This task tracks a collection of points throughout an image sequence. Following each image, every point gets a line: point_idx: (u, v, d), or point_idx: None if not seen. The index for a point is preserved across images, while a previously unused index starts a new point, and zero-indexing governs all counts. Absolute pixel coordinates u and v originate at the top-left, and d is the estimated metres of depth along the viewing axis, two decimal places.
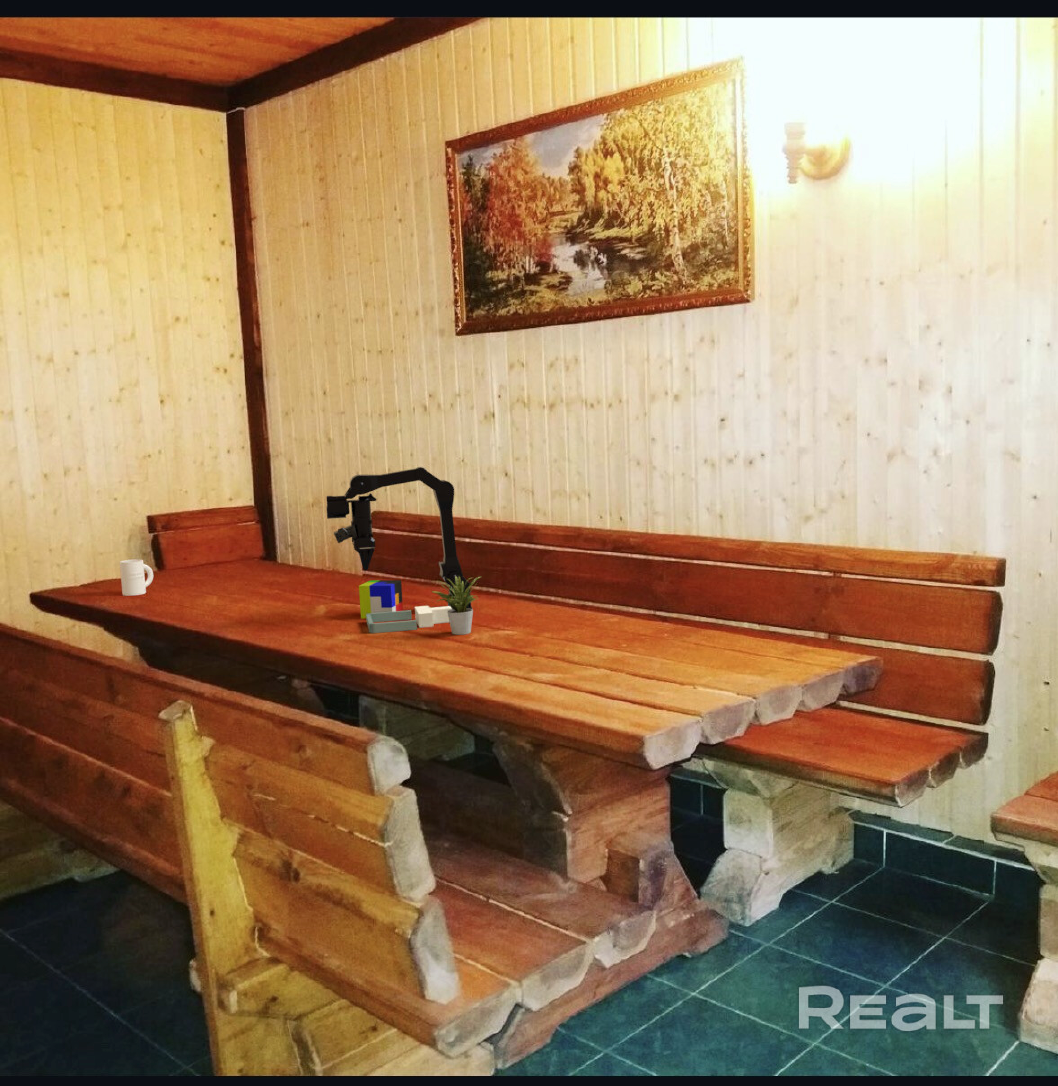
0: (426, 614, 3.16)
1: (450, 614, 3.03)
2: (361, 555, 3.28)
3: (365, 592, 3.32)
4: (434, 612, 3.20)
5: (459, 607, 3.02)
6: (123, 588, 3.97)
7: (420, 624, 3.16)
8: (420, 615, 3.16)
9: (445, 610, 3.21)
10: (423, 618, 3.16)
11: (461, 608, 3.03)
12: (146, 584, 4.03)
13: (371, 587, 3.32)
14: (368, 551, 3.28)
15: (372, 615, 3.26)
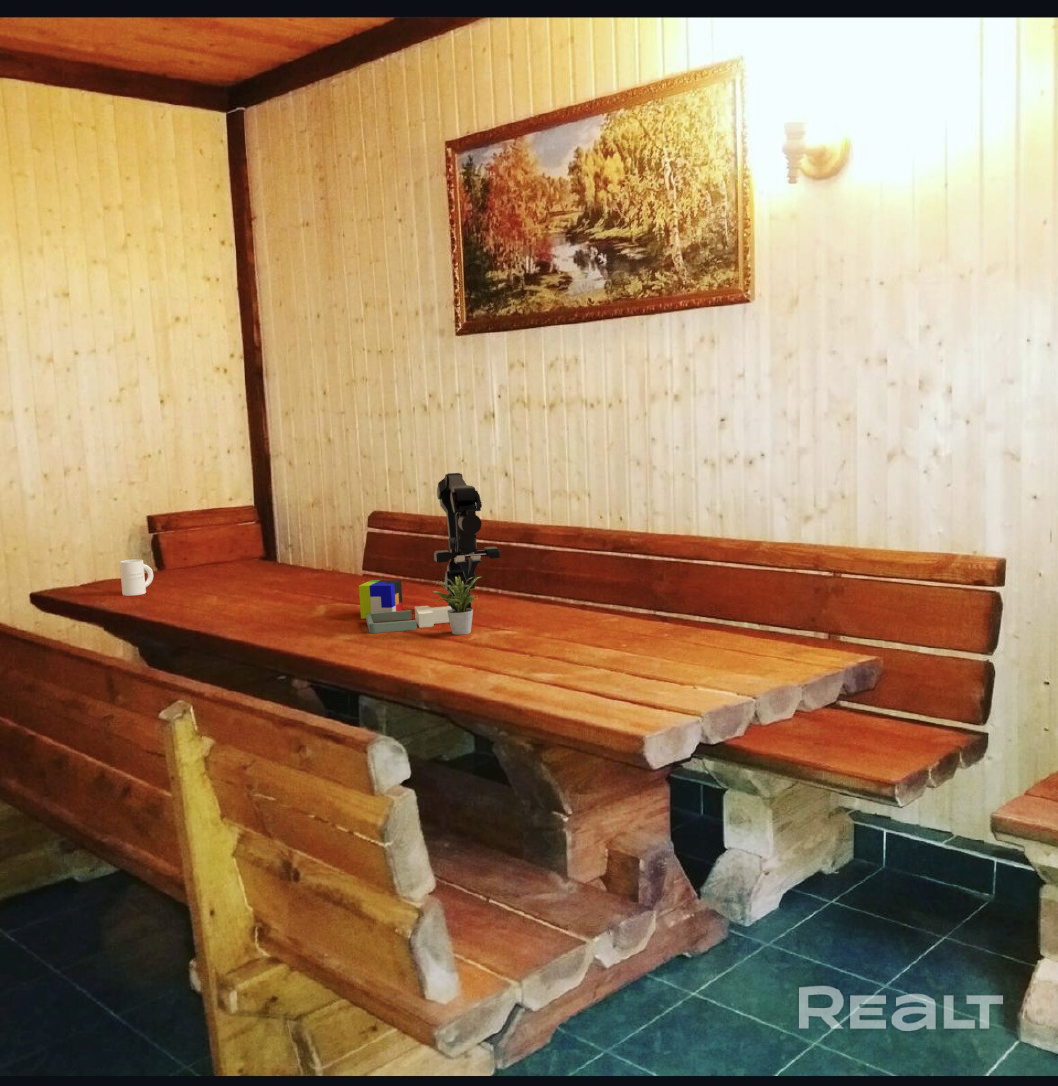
0: (426, 614, 3.16)
1: (450, 614, 3.03)
2: (461, 567, 3.23)
3: (365, 592, 3.32)
4: (434, 612, 3.20)
5: (459, 607, 3.02)
6: (123, 588, 3.97)
7: (420, 624, 3.16)
8: (420, 615, 3.16)
9: (445, 610, 3.21)
10: (423, 618, 3.16)
11: (461, 608, 3.03)
12: (146, 584, 4.03)
13: (371, 587, 3.32)
14: None
15: (372, 615, 3.26)
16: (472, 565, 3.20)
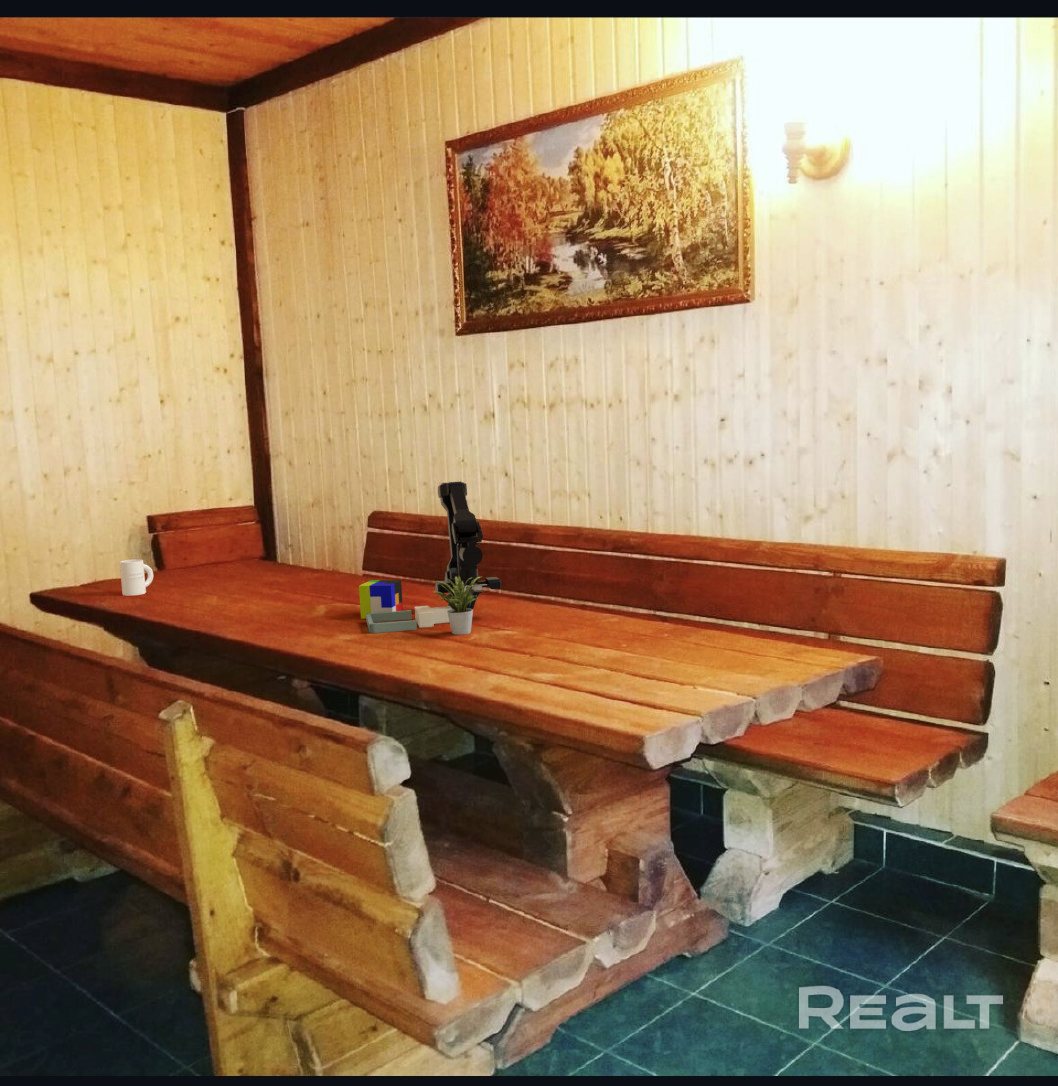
0: (426, 614, 3.16)
1: (450, 614, 3.03)
2: None
3: (365, 592, 3.32)
4: (434, 612, 3.20)
5: (459, 607, 3.02)
6: (123, 588, 3.97)
7: (420, 624, 3.16)
8: (420, 615, 3.16)
9: (445, 610, 3.21)
10: (423, 618, 3.16)
11: (461, 608, 3.03)
12: (146, 584, 4.03)
13: (371, 587, 3.32)
14: None
15: (372, 615, 3.26)
16: (474, 595, 3.21)
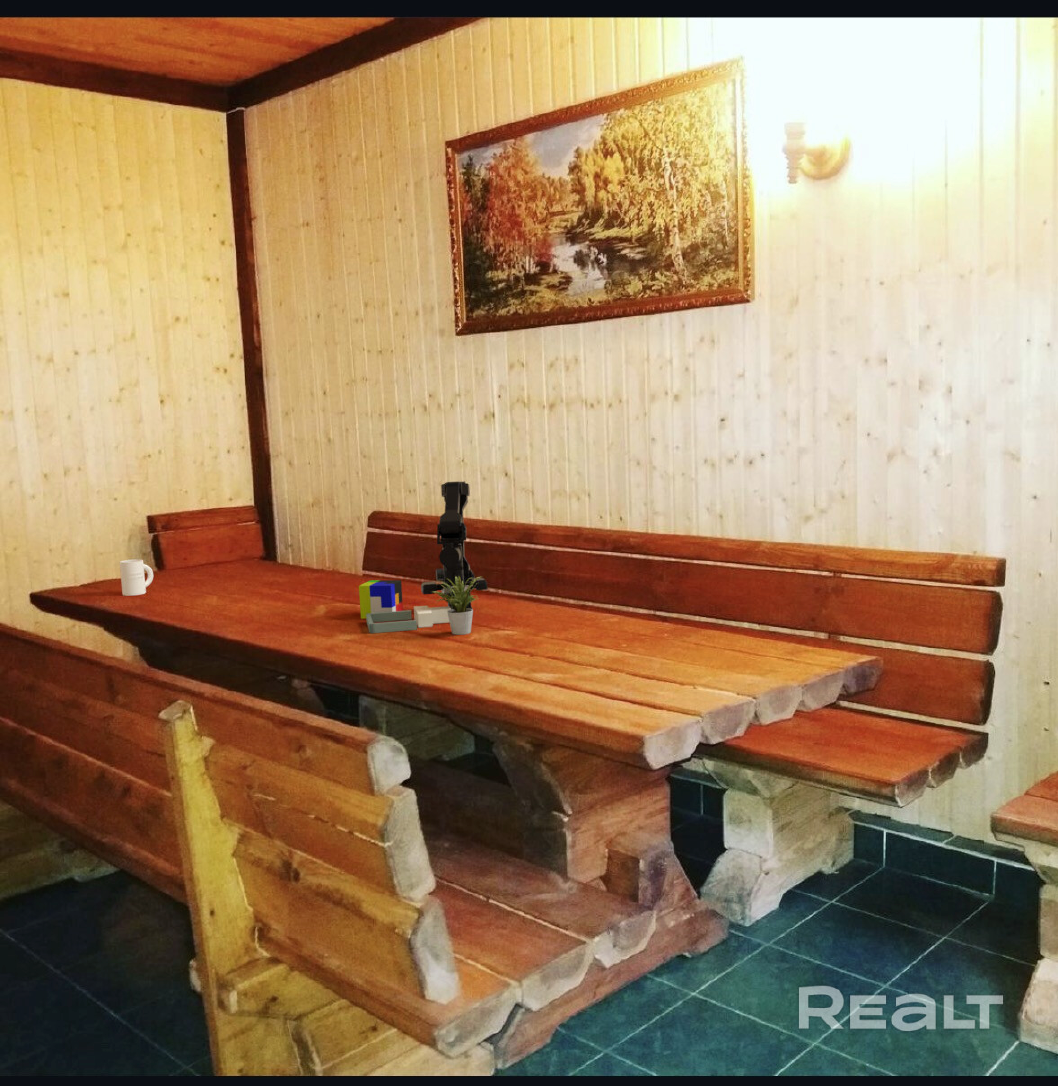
0: (425, 614, 3.16)
1: (450, 614, 3.03)
2: None
3: (365, 592, 3.32)
4: (433, 612, 3.20)
5: (459, 607, 3.02)
6: (123, 588, 3.97)
7: (419, 624, 3.16)
8: (419, 615, 3.15)
9: (444, 610, 3.21)
10: (422, 618, 3.16)
11: (461, 608, 3.03)
12: (146, 584, 4.03)
13: (371, 587, 3.32)
14: None
15: (372, 615, 3.26)
16: None
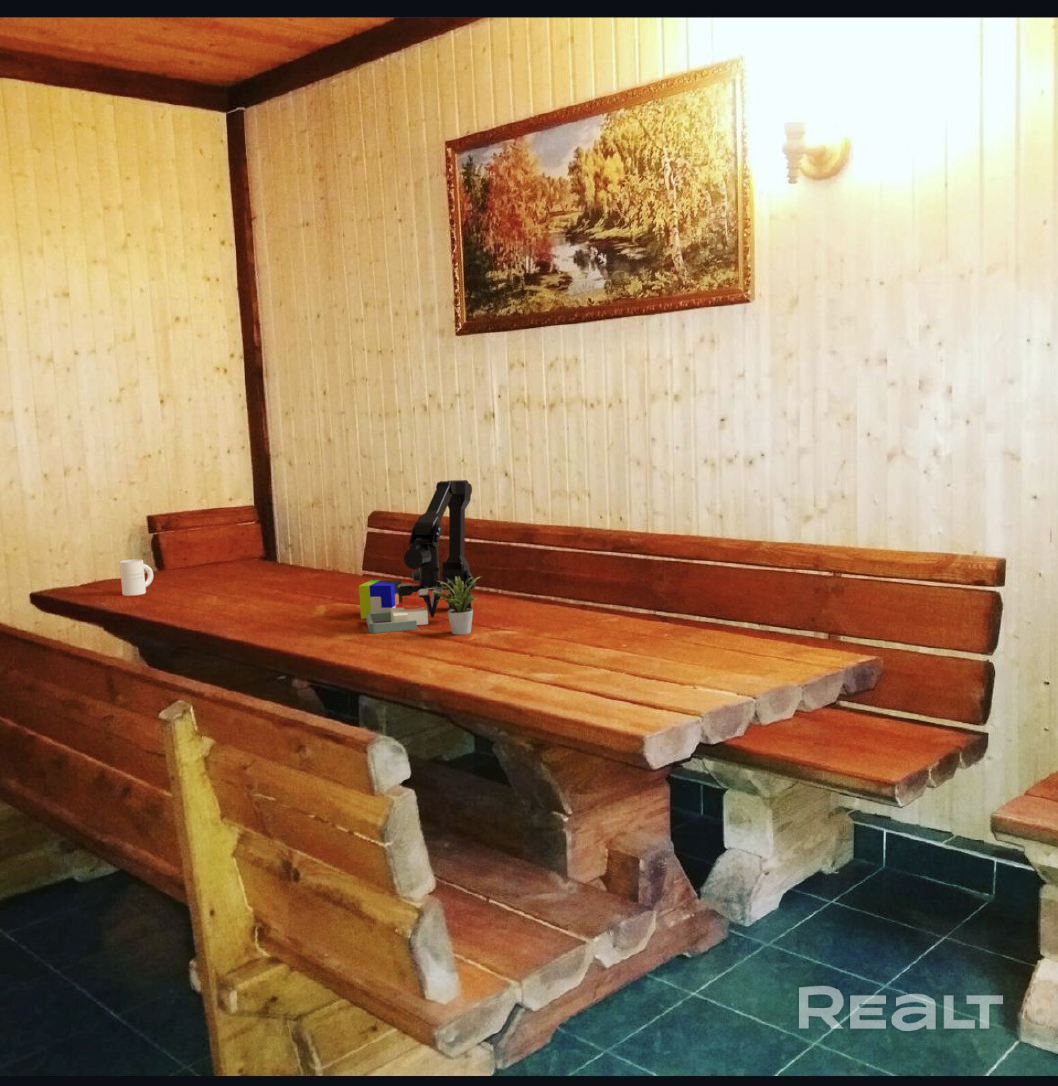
0: (401, 616, 3.14)
1: (450, 614, 3.03)
2: (425, 600, 3.22)
3: (365, 592, 3.32)
4: (409, 614, 3.19)
5: (459, 607, 3.02)
6: (123, 588, 3.97)
7: None
8: (395, 617, 3.14)
9: (421, 612, 3.19)
10: (398, 620, 3.14)
11: (461, 608, 3.03)
12: (146, 584, 4.03)
13: (371, 587, 3.32)
14: None
15: (372, 615, 3.26)
16: (435, 598, 3.19)
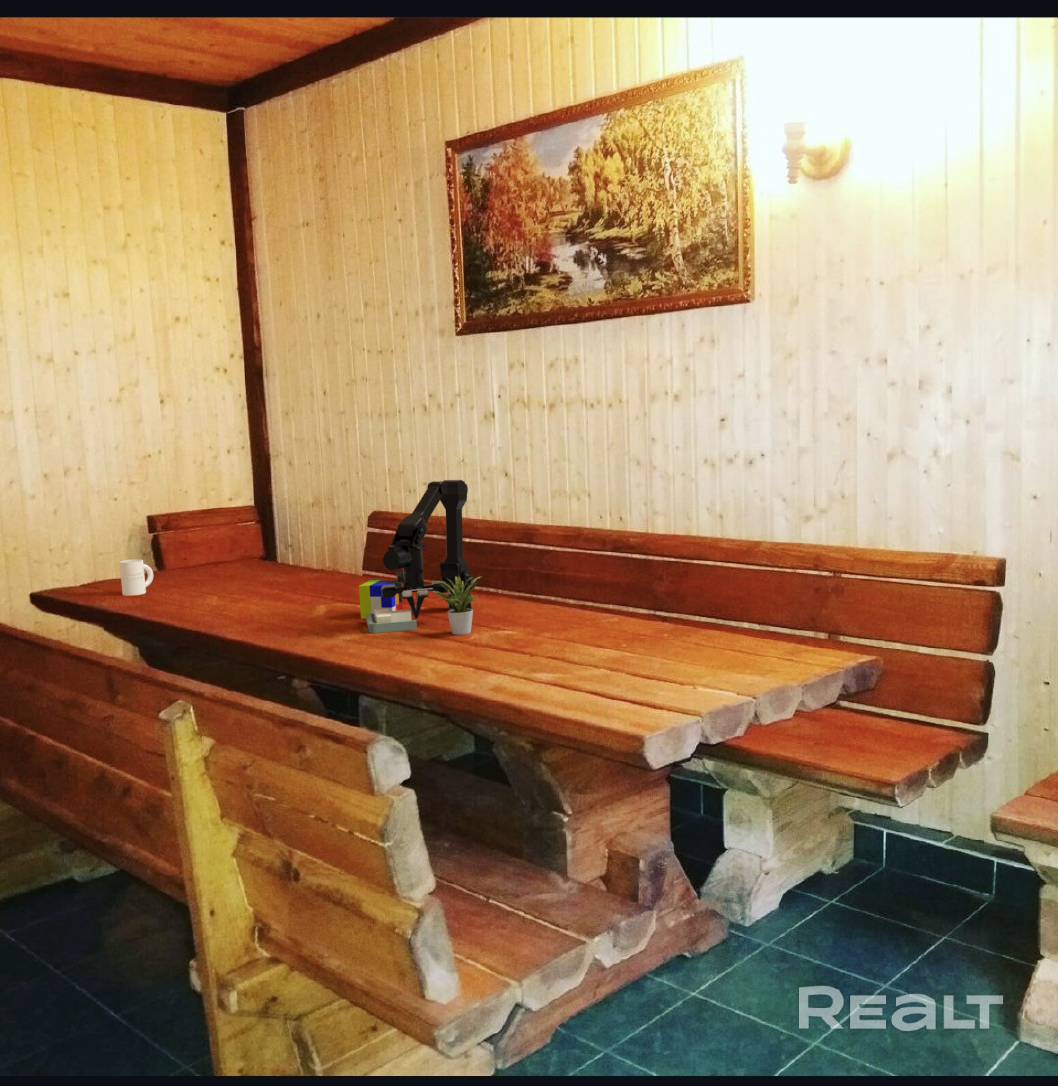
0: (385, 617, 3.14)
1: (450, 614, 3.03)
2: None
3: (365, 592, 3.32)
4: (393, 615, 3.18)
5: (459, 607, 3.02)
6: (123, 588, 3.97)
7: None
8: (378, 618, 3.13)
9: (404, 613, 3.19)
10: (381, 621, 3.14)
11: (461, 608, 3.03)
12: (146, 584, 4.03)
13: (371, 587, 3.32)
14: None
15: (372, 615, 3.26)
16: (419, 599, 3.18)
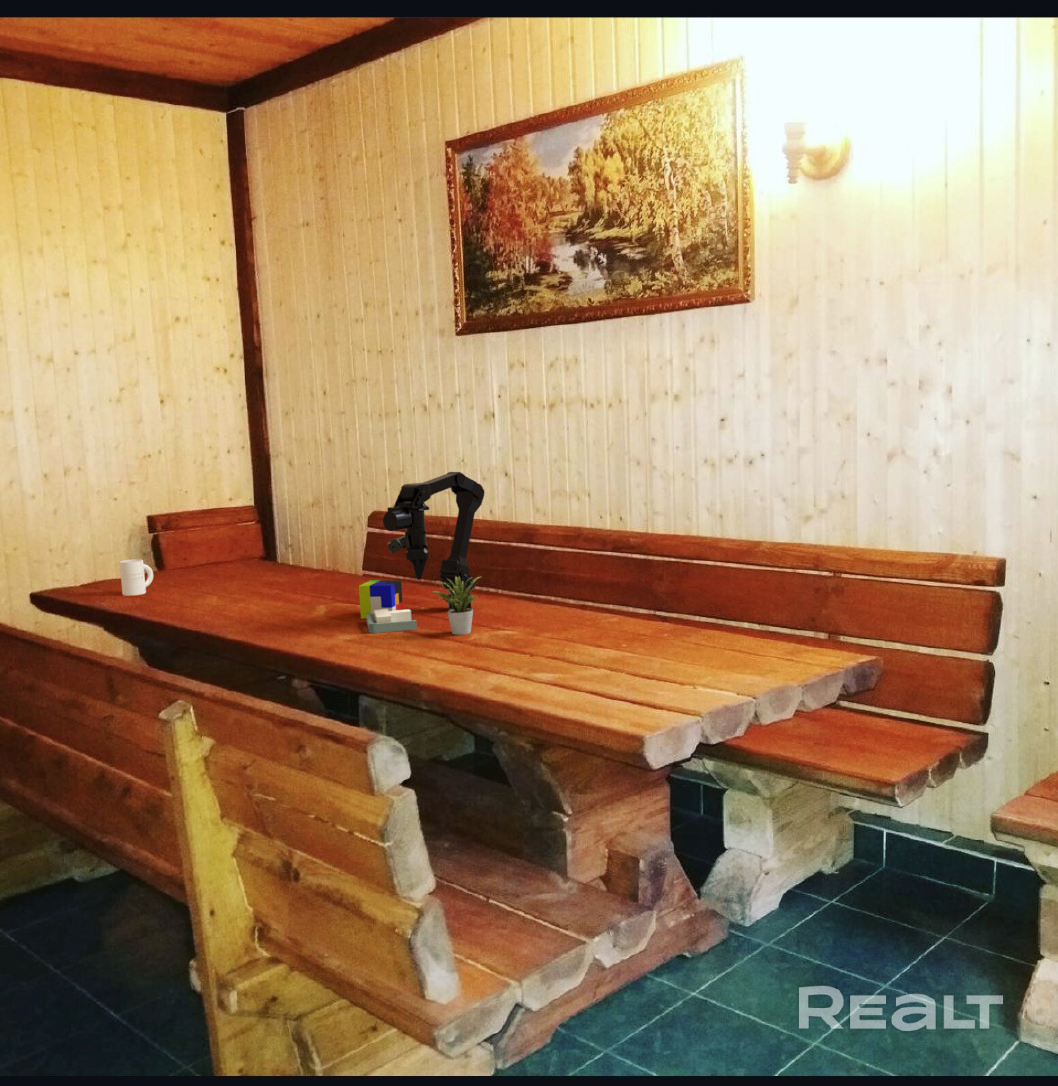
0: (384, 617, 3.14)
1: (450, 614, 3.03)
2: (414, 564, 3.24)
3: (365, 592, 3.32)
4: (393, 615, 3.18)
5: (459, 607, 3.02)
6: (123, 588, 3.97)
7: None
8: (378, 618, 3.13)
9: (404, 613, 3.19)
10: (381, 621, 3.14)
11: (461, 608, 3.03)
12: (146, 584, 4.03)
13: (371, 587, 3.32)
14: (421, 560, 3.25)
15: (372, 615, 3.26)
16: None
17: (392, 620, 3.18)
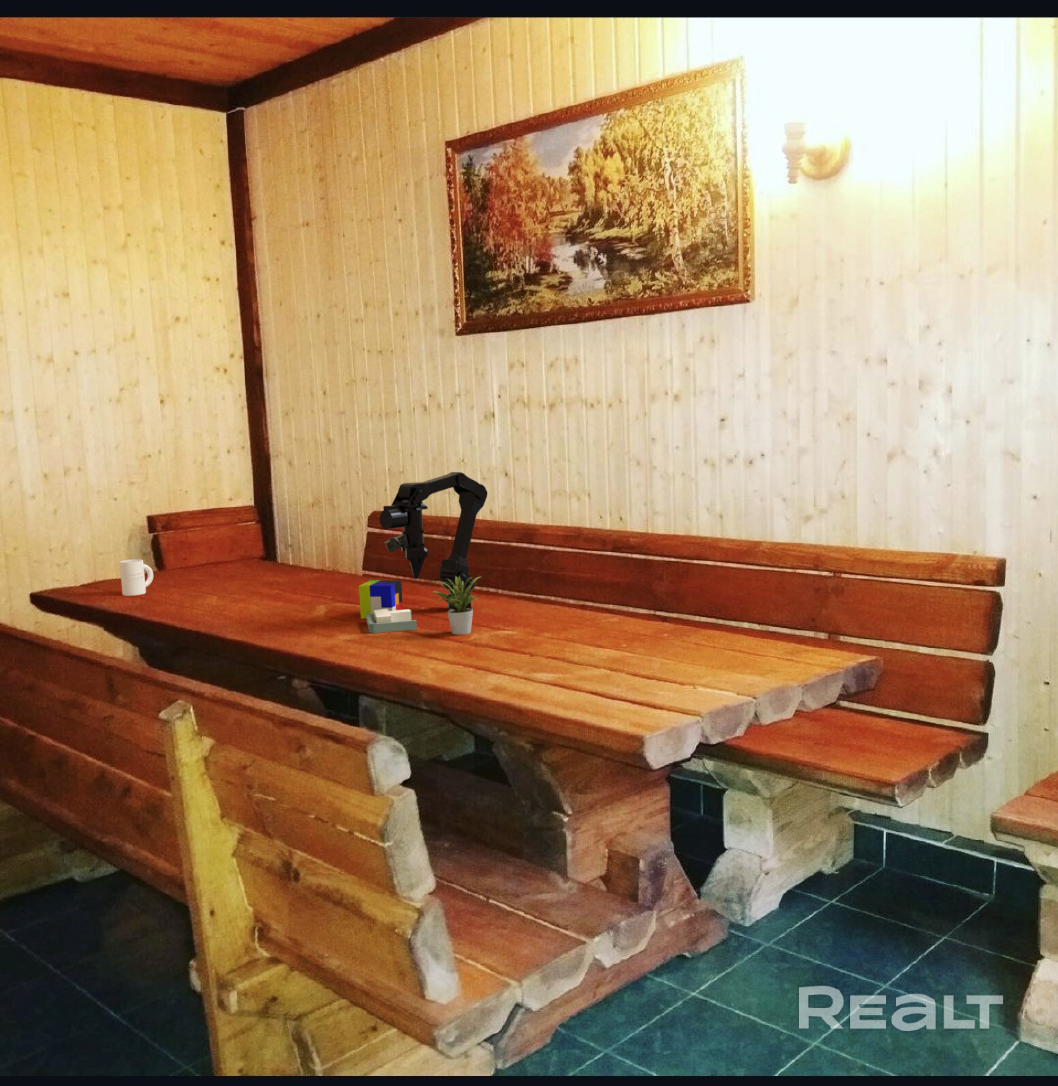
0: (384, 617, 3.14)
1: (450, 614, 3.03)
2: (412, 563, 3.26)
3: (365, 592, 3.32)
4: (393, 615, 3.18)
5: (459, 607, 3.02)
6: (123, 588, 3.97)
7: None
8: (378, 618, 3.13)
9: (404, 613, 3.19)
10: (381, 621, 3.14)
11: (461, 608, 3.03)
12: (146, 584, 4.03)
13: (371, 587, 3.32)
14: (419, 559, 3.26)
15: (372, 615, 3.26)
16: None
17: (392, 620, 3.18)
